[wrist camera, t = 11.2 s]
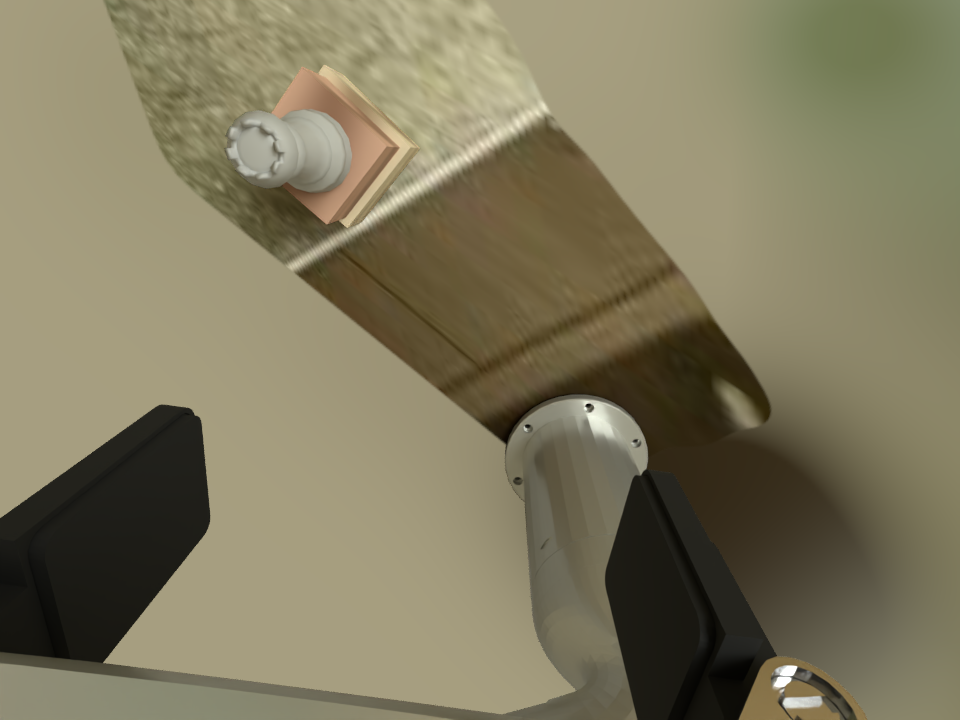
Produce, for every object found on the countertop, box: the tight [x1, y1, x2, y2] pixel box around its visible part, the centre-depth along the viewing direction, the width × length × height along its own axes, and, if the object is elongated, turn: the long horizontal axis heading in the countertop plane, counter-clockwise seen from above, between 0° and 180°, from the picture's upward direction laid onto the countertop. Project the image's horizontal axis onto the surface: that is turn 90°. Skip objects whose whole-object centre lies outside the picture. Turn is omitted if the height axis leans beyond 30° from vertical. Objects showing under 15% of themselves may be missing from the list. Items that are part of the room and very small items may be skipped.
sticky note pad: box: [271, 65, 420, 228], centre depth 33 cm, size 7×7×8 cm
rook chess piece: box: [224, 109, 352, 193], centre depth 25 cm, size 4×4×8 cm
